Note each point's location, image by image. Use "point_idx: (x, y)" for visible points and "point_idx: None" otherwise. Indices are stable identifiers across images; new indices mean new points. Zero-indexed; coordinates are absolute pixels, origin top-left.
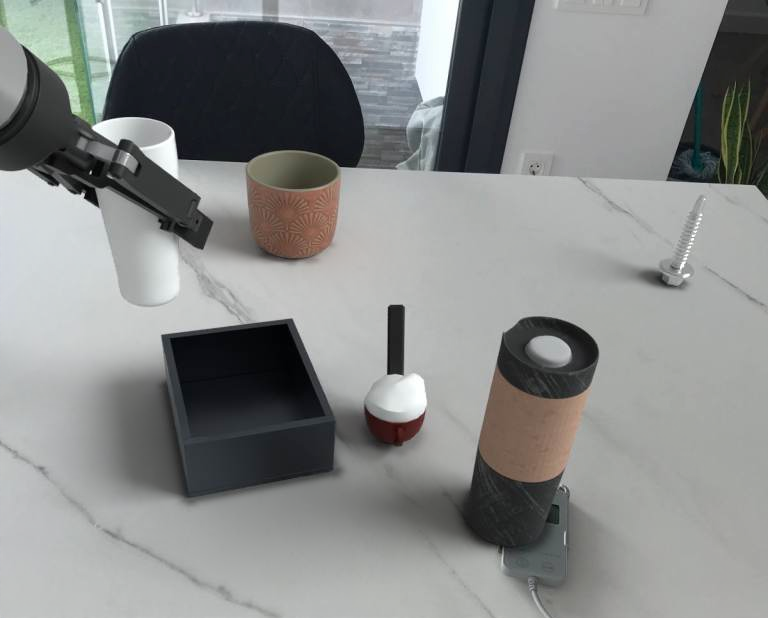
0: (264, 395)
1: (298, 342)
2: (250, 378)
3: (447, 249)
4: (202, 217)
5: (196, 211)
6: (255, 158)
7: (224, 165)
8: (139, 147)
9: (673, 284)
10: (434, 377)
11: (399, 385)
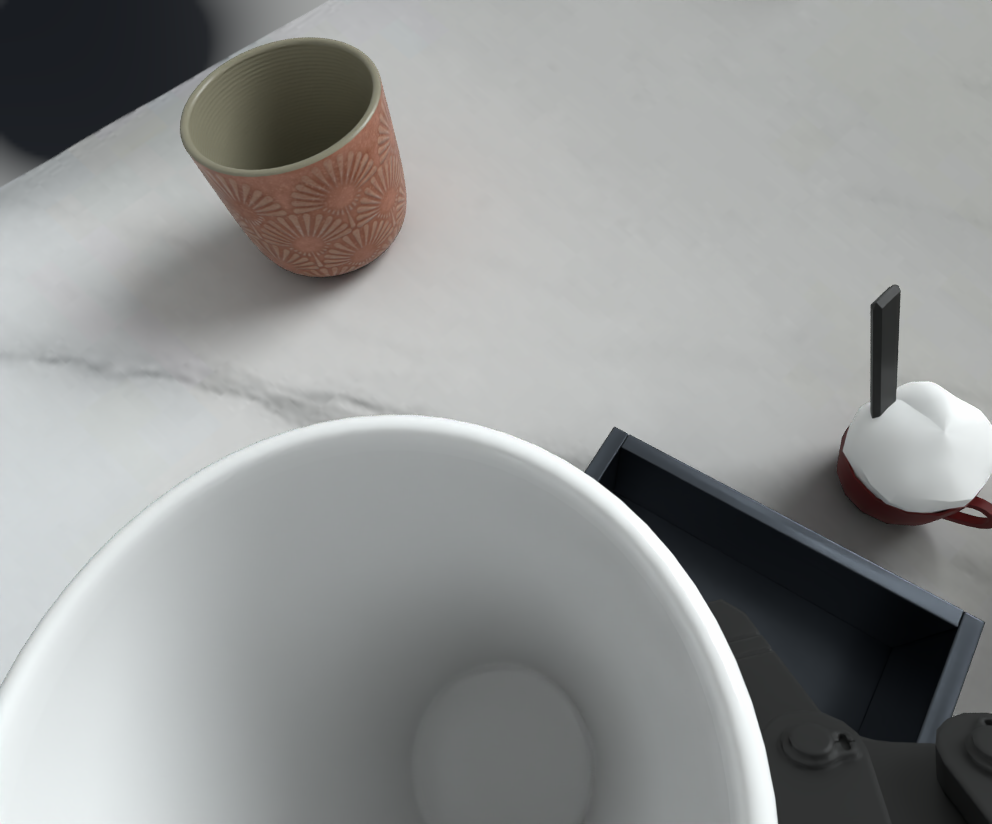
0: None
1: (694, 478)
2: None
3: (551, 86)
4: (725, 602)
5: (766, 645)
6: (184, 122)
7: (74, 155)
8: (261, 578)
9: None
10: (806, 328)
11: (953, 437)
